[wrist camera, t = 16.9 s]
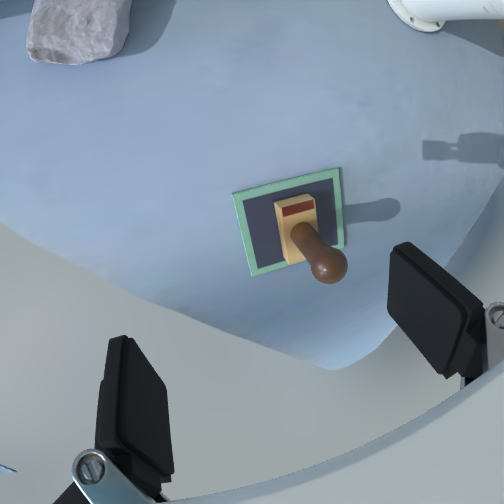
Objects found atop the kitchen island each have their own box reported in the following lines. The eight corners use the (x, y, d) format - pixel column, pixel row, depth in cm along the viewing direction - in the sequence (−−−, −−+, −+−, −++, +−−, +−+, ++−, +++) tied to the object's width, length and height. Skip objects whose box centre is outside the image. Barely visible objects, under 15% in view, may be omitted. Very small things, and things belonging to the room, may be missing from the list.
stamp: (313, 246, 42) (356, 298, 32) (282, 255, 42) (319, 312, 31) (306, 192, 38) (356, 233, 28) (273, 201, 38) (313, 246, 27)
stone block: (128, 59, 28) (139, -19, 22) (118, 63, 24) (131, -27, 18) (38, 67, 25) (45, -7, 19) (19, 74, 21) (27, -10, 15)
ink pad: (336, 167, 38) (338, 168, 38) (342, 246, 44) (344, 248, 44) (231, 193, 37) (232, 195, 36) (250, 274, 43) (252, 277, 42)
